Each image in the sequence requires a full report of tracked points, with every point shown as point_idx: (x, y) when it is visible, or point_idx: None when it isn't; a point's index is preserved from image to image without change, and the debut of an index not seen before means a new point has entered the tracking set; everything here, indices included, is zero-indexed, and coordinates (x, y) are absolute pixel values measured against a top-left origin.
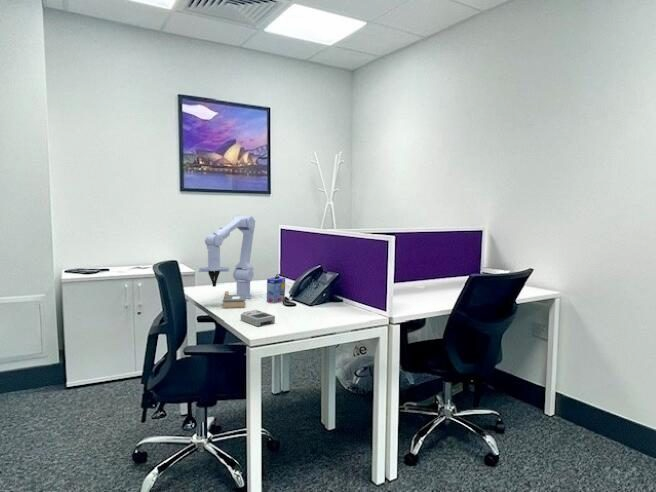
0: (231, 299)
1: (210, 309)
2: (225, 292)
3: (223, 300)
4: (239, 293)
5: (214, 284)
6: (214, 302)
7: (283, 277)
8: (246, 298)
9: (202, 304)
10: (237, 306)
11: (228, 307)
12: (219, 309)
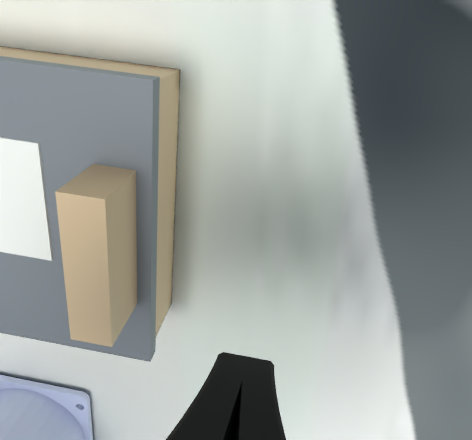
0: (40, 110)
1: (333, 55)
2: (100, 279)
3: (144, 77)
4: (37, 434)
5: (234, 381)
6: (266, 347)
7: None
8: (4, 376)
9: (387, 309)
10: (14, 51)
11: (119, 62)
12: (225, 26)
